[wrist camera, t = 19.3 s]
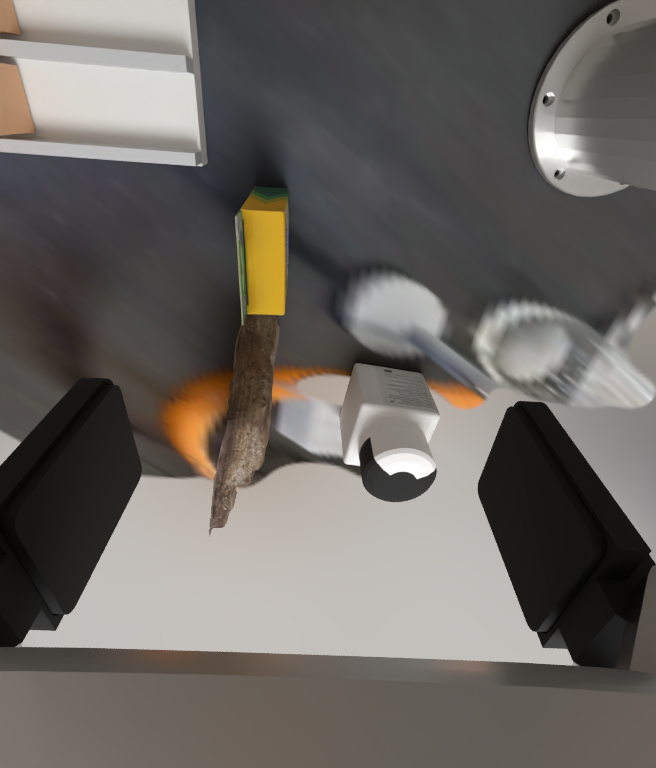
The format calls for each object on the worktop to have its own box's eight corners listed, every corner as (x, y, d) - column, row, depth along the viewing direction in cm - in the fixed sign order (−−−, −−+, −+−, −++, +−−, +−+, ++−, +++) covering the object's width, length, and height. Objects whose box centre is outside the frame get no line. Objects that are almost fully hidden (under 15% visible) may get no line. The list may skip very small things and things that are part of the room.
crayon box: (290, 273, 38) (283, 328, 28) (257, 272, 38) (239, 327, 28) (290, 187, 34) (283, 217, 24) (254, 185, 34) (232, 214, 24)
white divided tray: (183, -141, 24) (162, -181, 21) (207, 163, 33) (196, 169, 29) (-109, -177, 23) (-180, -226, 20) (-3, 147, 32) (-40, 151, 28)
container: (402, 426, 49) (428, 516, 38) (338, 417, 48) (346, 507, 37) (423, 372, 44) (459, 455, 34) (354, 361, 43) (368, 443, 33)
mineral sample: (247, 300, 39) (218, 390, 27) (288, 309, 40) (279, 401, 27) (225, 431, 48) (196, 545, 36) (259, 437, 49) (242, 551, 36)
